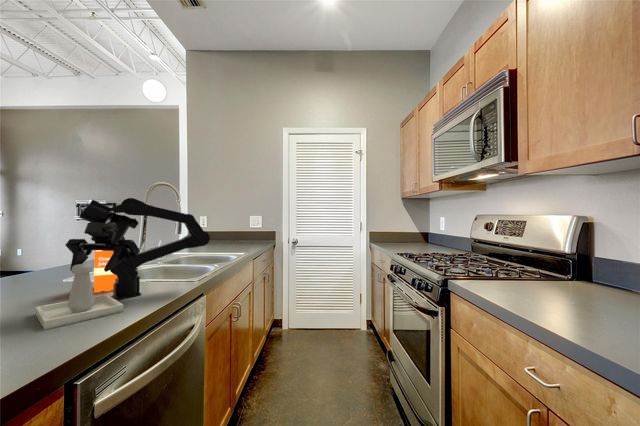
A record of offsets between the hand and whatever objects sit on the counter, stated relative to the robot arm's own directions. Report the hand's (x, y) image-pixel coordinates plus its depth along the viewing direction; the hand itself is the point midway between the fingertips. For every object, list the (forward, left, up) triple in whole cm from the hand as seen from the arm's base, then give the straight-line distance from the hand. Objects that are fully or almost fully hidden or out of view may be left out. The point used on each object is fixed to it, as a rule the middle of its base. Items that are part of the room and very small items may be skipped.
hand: (88, 270), depth 79 cm
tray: (+2, +1, -11) cm, 12 cm away
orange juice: (-11, -24, -12) cm, 29 cm away
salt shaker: (+2, +1, -11) cm, 11 cm away
